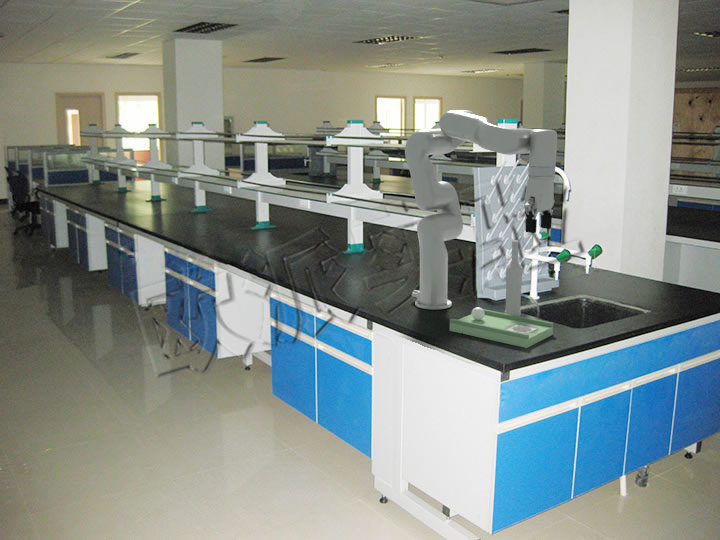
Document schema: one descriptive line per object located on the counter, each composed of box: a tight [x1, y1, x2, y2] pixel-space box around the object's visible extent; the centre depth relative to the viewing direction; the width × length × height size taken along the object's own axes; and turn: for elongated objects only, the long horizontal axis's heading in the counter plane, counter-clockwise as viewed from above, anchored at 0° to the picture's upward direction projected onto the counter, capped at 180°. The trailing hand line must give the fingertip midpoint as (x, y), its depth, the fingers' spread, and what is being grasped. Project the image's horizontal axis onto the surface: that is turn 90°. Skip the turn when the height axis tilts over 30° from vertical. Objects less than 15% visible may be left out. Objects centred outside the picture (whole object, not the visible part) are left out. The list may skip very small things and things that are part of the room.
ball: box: [470, 306, 485, 320], centre depth 213 cm, size 4×4×4 cm
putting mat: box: [449, 308, 554, 349], centre depth 208 cm, size 26×16×4 cm, turn 49°
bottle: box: [504, 239, 524, 316], centre depth 223 cm, size 5×5×25 cm
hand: (538, 230), depth 206 cm, fingers open, 9 cm apart
